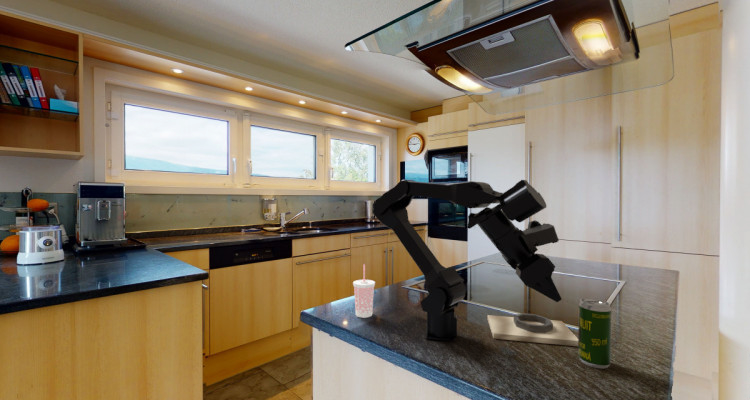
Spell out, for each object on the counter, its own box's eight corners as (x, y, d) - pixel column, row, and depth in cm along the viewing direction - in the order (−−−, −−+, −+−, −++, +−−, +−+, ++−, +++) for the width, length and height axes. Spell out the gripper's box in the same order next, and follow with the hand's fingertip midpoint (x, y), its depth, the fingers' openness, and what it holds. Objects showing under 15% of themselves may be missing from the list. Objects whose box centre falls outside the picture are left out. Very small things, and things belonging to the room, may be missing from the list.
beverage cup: (379, 313, 91) (379, 263, 91) (365, 320, 86) (366, 267, 86) (362, 309, 95) (362, 261, 95) (348, 315, 90) (348, 264, 90)
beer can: (596, 355, 68) (596, 297, 68) (618, 368, 62) (618, 306, 62) (571, 356, 67) (572, 298, 67) (591, 370, 62) (592, 306, 62)
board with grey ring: (493, 338, 75) (493, 326, 75) (487, 319, 87) (487, 309, 87) (580, 346, 72) (580, 334, 72) (561, 325, 83) (561, 315, 83)
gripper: (550, 213, 58) (609, 284, 57) (523, 205, 76) (568, 258, 75) (497, 251, 60) (553, 320, 59) (484, 234, 78) (526, 286, 77)
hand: (551, 292), depth 67 cm, fingers open, 9 cm apart
